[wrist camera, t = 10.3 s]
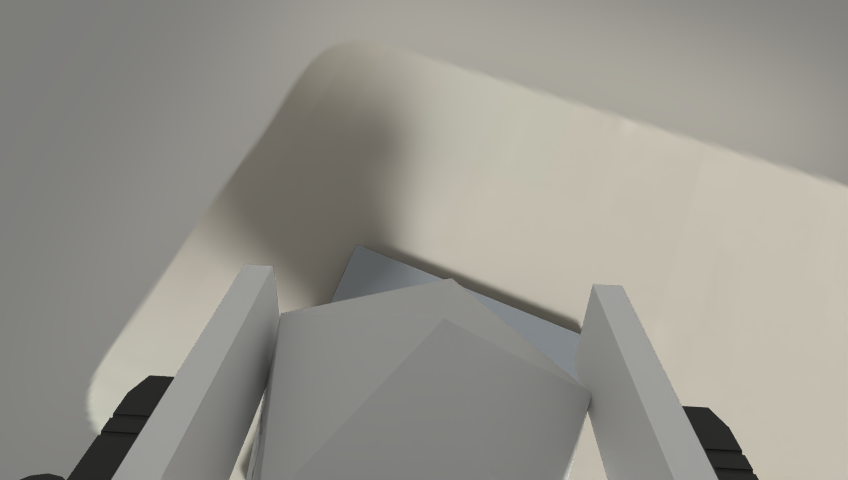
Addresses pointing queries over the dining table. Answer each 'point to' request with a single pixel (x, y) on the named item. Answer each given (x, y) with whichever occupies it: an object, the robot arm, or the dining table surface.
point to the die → (413, 394)
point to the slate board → (387, 274)
